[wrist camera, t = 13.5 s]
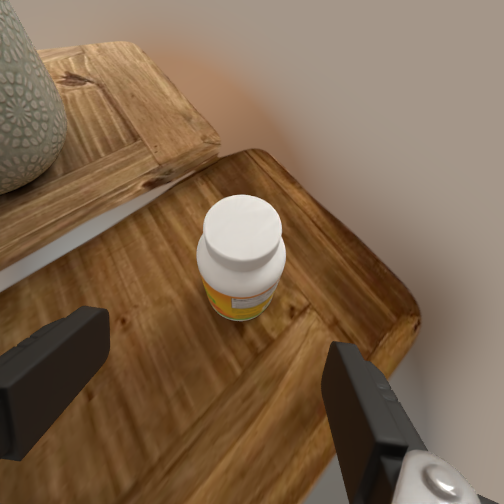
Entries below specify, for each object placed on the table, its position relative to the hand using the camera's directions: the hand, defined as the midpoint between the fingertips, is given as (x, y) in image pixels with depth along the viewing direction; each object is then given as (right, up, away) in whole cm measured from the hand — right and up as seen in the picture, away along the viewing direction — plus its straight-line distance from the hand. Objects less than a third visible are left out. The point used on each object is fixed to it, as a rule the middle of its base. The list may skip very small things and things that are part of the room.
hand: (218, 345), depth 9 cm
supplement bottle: (0, 0, +12) cm, 12 cm away
